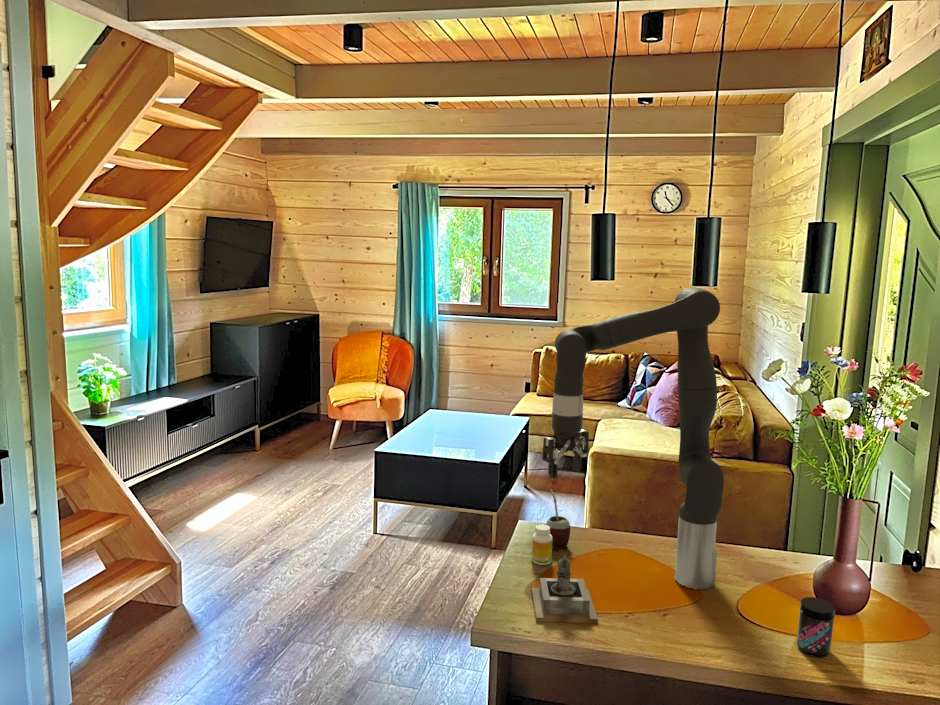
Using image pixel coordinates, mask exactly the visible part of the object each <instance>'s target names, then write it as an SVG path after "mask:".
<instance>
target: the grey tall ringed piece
mask: <svg viewBox="0 0 940 705" xmlns="http://www.w3.org/2000/svg"><path fill="white" fill-rule="evenodd" d="M557 570H558V571H556V575H557V577H556V578H557V583H555V584H553V585H552V586H551V590H552V593H553V596H554V597H573V595H574V593H575V591H576V589H575V587H574V586H573V585H571V584H570V579H571V576H572V572H571V561H570V559H568V558H567V556H566V555H563V557H562V558H559V560H558V568H557Z"/></svg>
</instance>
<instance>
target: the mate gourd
mask: <svg viewBox="0 0 940 705" xmlns="http://www.w3.org/2000/svg"><path fill="white" fill-rule="evenodd" d="M549 490H550V492H551V495H552V498H553V503H554V510H555V515H553V516H551V517H549V518H548V519H547V521H546V523H545V525H548V526H549V527H550V534H551V535H552V551H556V550H557V549H558V548H561V549H564V550H568V549H569V548H568V547H569V546H568V544H569V542H570V535H571V523H570V521H569V520H568V519H567V518H566V517H564V516H561V515H559V512H558V505H557V498H556V495H555V494H554V492H553V489H552V488H550V489H549Z"/></svg>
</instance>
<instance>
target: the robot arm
mask: <svg viewBox="0 0 940 705" xmlns="http://www.w3.org/2000/svg"><path fill="white" fill-rule="evenodd" d="M720 312H721V304H720V301H719V298H717V296H716V295H715V294H714V293H712V292H711V291H709V290H706V289H703V288H699V287H694V286H692V287H691V286H689V287H686V288H684V289H682V290H681V291H679V293H678V294H677V295H676V297H675V299H674V302H672V303H669V304H667V305H664V306H660V307H658V308H653V309H648V310H643V311H636V312H630V313H625V314H621V315H618V316H613V317H610V318H607V319H604V320H601V321H598V322H596V323H592V324H586V325H581V326H575V327H571V328H568V329H564V330H563V331H561V332H560V333H558V335H557V336H556V338H555V340H554V347H555V350H556V353H557V354H556V355H557V356H556V359H557V360H556V362H557V363H556V372H555V374H554V386H553V387H554V388H553V397H552V398H553V399H552V406H551V408H552V412H551V429H552V430H553V436H552V437H547V436H545V437H544V438H543V443H542V444H543V445H542V446H543V447H542V457H541V458H542V459H541V460H542V462H546V463H548V470H547V471H548V472H547V474H548V476H549V478H551V479H557V478H558V470H559V469H558V468H559V464H558V462H559V461H560V458H563V456H564V455H565V453H568V452H572V454H573V456H572V469H571V470H572V471H574V472H581V471H582V468H583V463H582V462H583V457H584V455H586V454H589V451H590V450H589V446H590V445H589V440H590V439H589V437H590V436H589V434H590V433H589V431H588V430H585V429H583V422H584V421H583V420H584V419H583V418H584V417H583V415H584V395H583V394H584V371H585V366H586V365H585V364H586V358H587V353H589V352H593V351H595V350H598V351H607V350H610V349H613V348H617V347H621V346H624V345H628V344H630V343H634V342H636V341H640V340H644V339H646V338H651V337H655V336H658V335H661V334H666V333H670V332H675V331H676V337H677V400H678V401H677V402H678V403H677V404H678V419H679V420H678V422H679V432H680V433H679V435H680V436H679V438H680V439H679V453H678V463H677V464H678V465H677V473H678V476H679V478H680V480H681V482H682V483H683V485H685V486H686V489H685V490H686V491H685V501H684V502H682V503H681V504H680V506H679V512H678V525H677V526H678V527H677V536H676V538H677V542H676V550H675V552H676V554H675V565H674V566H675V569H674V581H675V580H676V581H677V582H678V583H679V584H678V583H677V582H676V581H675V582H676V583H677V584H678V585H680V584H681V585H680V586H682V585H684V586H687V587H691V588H696V589H695V590H698V589H699V590H706V589H709V588H715V587H716V577H717V575H716V574H717V563H718V550H717V549H716V538H717V526H718V524H717V523H718V516H719V514H720V512H721V509H722V504H723V495H724V489H725V488H724V486H725V476H724V472H723V469H722V467H721V466H720V465H719V464H718V463H717V462H715V461H714V460H713V459H712V456H711V450H710V448H711V447H710V429H711V425H712V423H713V421H714V417H715V415H716V410H717V406H718V405H717V404H718V382H717V375H716V371H715V366H714V363H713V359H712V355H711V350H710V346H709V335H708V333H709V326H710V325H712V324H713V323H714V322H715V321H716V320H717V318H719V315H720ZM684 586H683V587H684ZM687 587H686V588H687Z"/></svg>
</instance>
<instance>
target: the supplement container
mask: <svg viewBox="0 0 940 705" xmlns="http://www.w3.org/2000/svg"><path fill="white" fill-rule="evenodd" d="M799 603H800V605H799V616H798V625H797V626H798V628H797V636H796V646H797V647H798V649H799V651H801V652H802V653H803V654H805V655H807V656H810V657H814V658H825V657H828V656H829V655H830V653H831V650H832V649H831V648H832V642H833V633H834V622H835V617H836V615H835V614H836V607H835V605H834V604H833V603H832V602H830V601H828V600H825V599H822V598H820V597H813V596H811V597H810V596H809V597H803V598H801V600H800V602H799Z"/></svg>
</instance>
